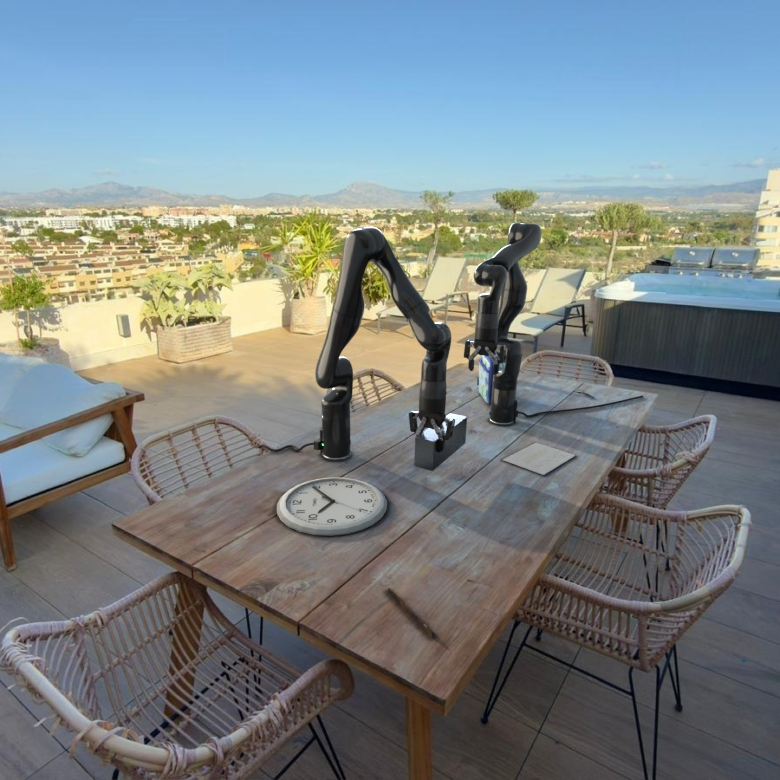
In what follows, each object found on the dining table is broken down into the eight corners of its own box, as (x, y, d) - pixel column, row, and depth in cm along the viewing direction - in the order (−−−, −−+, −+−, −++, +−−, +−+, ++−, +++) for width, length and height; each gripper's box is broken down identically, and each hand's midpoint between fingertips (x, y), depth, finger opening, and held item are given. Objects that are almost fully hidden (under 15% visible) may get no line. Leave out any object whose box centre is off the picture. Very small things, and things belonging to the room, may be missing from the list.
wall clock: (392, 527, 129) (268, 531, 127) (391, 533, 130) (269, 537, 127) (383, 473, 158) (282, 475, 155) (383, 478, 158) (282, 480, 156)
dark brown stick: (387, 592, 109) (387, 587, 109) (388, 591, 109) (388, 587, 109) (431, 637, 97) (431, 633, 97) (433, 636, 97) (433, 632, 97)
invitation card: (535, 442, 186) (575, 454, 176) (535, 442, 187) (575, 455, 176) (502, 459, 172) (543, 474, 162) (502, 460, 172) (543, 475, 162)
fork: (592, 399, 235) (592, 395, 235) (571, 389, 250) (572, 385, 249) (597, 399, 236) (597, 394, 235) (576, 388, 251) (576, 384, 250)
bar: (448, 439, 171) (449, 413, 169) (465, 443, 169) (467, 416, 166) (414, 466, 152) (415, 437, 149) (432, 471, 149) (434, 441, 146)
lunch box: (475, 390, 246) (478, 346, 240) (498, 390, 246) (501, 347, 240) (484, 408, 221) (487, 360, 215) (509, 409, 221) (513, 360, 215)
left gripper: (403, 393, 147) (402, 447, 152) (450, 402, 140) (447, 459, 145) (416, 386, 153) (414, 439, 159) (461, 395, 147) (458, 450, 152)
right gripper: (462, 325, 175) (459, 371, 180) (503, 329, 168) (499, 378, 173) (471, 321, 181) (468, 367, 186) (511, 326, 174) (506, 373, 179)
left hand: (430, 448), depth 152 cm, fingers closed on bar, 6 cm apart
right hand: (483, 372), depth 180 cm, fingers open, 8 cm apart
